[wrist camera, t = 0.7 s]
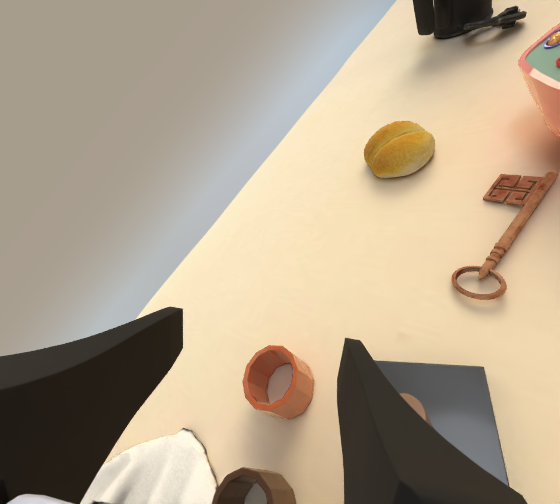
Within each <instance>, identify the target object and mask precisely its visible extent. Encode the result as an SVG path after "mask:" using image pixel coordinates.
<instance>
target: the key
mask: <svg viewBox="0 0 560 504" xmlns="http://www.w3.org/2000/svg"><path fill="white" fill-rule="evenodd" d="M557 176H558V174H557V173H556V172H548V173H547V174H546V175H545V176H544V177H532V176H523V178H522V179H521V181H520V182H519V183H518V185H517V186H516V188H514V186H515V185H516V184H517V182H518V181H519V179H520V178H521V176H519V175H506V174H500V176H499V177H498V178H497V180H496V181H495V182H494V184H493V185H492V186H491V188H490V189H489V190H488V192H487V193H486V194H485V196H484V197H483V199H484V200H491V201H498V202H503V201H504V200H505V199H506V197H507V196H508V194H509V193H510V191H512V193H511V194H510V196H509V197H508V198H507V200H506V203H512V204H519V205H524V206H523V208H522V209H521V210H520V212H519V213H518V215H517V216H516V218H515V219H514V220H513V222H512V223H511V225H510V226H509V227H508V229H507V230H506V232H505V233H504V235H503V236H502V237H501V239H500V240H499V242H498V243H496V244H495V246H494V249H493V250H492V251H491V253H490V256H488V257H487V258H486V261H485V263H484V264H483V266H482V267H480V266H467V267H463V268H460V269H458V270H457V271H455V272H454V273H453V275H452V284H453V286H454V287H455V288H456V289H457V290H458V291H459V292H460V293H462V294H464V295H466V296H468V297H471V298H474V299H480V300H490V299H495V298H497V297H499V296H501V295H503V294H504V292H505V291H506V288H507V285H506V282H505V280H504V279H503V277H502V276H501V275H499V274H498V273H497V272H495V271H493V270H492V269H493V267H494V266H495V265H496V264H497V263H498V262H499V259H500V258H502V256H503V255H504V253H505V252H506V251H507V250H508V249H509V246H510V244H511V243H512V241H513V240H514V238H515V237H516V236H517V234H518V233H519V231H520V230H521V228H522V227H523V225H524V224H525V223H526V221H527V220H528V218H529V217H530V215H531V214H532V212H533V211H534V210H535V208H536V207H537V205H538V204H539V202H540V201H541V199H542V198H543V197H544V195H545V194H546V192H547V191H548V189H549V188H550V186H551V185H552V184H553V182H554V181H555V179H556V178H557ZM501 180H502V181H501ZM500 181H501V183H500V184H499V187H498V186H497V185H498V183H499V182H500ZM533 182H534V183H536V184H535V186H534V187H533V189H532V190H529V189H530V188H531V187H532V185H533ZM494 189H495V191H494V192H493V193H492V191H493V190H494ZM491 193H492V196H489V195H490V194H491ZM526 193H529V194H528V195H527V197H526V198H525V199H524V201H522V199H523V198H524V196H525V195H526ZM469 271H479V277H478V278H479V279H482V278H483V277H485V276H487V275H488V274H490V275H491V276H493V277H495V278H496V279H497V280H498V281H499V282H500V284H501V287H500V288H499V289H498V290H497V291H496V292H494V293H491V294H475V293H471V292H469V291H466V290H464V289H463V288H461V287H460V286H459V285H458V284H457V282H456V280H457V278H458V276H459V275H461V274H462V273H465V272H469Z"/></svg>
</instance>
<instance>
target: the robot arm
mask: <svg viewBox="0 0 560 504" xmlns="http://www.w3.org/2000/svg"><path fill="white" fill-rule="evenodd" d="M182 349H183V309H181V308H175V307H167V308H164V309H161V310H159V311H156V312H154V313H151V314H149V315H146V316H144V317H141V318H139V319H136V320H134V321H131V322H129V323H126V324H124V325H121V326H118V327H116V328H113V329H110V330H108V331H105V332H102V333H99V334H96V335H93V336H90V337H87V338H84V339H80V340H77V341H73V342H69V343H66V344H62V345H57V346H53V347H49V348H44V349H40V350H36V351H31V352H25V353H19V354H14V355H7V356H1V357H0V504H80V503H81V501H82V499H83V498H84V496H85V494H86V492H87V491H88V489H89V487H90V485H91V484H92V482H93V480H94V478H95V477H96V475H97V473H98V472H99V470H100V468H101V467H102V465H103V463H104V462H105V460H106V458H107V457H108V455H109V454H110V452H111V450H112V449H113V447H114V445H115V444H116V442H117V441H118V439H119V438H120V436H121V434H122V433H123V431H124V430H125V428H126V427H127V425H128V424H129V422H130V421H131V419H132V418H133V417H134V415H135V414H136V412H137V411H138V410H139V409H140V407H141V406H142V405H143V403H144V402H145V401H146V400H147V398H148V397H149V396H150V395H151V393H152V392H153V391H154V389H155V388H156V387H157V386H158V384H159V383H160V382H161V380H162V379H163V378H164V377H165V375H166V374H167V373H168V371H169V370H170V369H171V367H172V366H173V364H174V362H175V361H176V359H177V357H178V356H179V354H180V352H181V350H182ZM337 406H338V416H339V425H340V435H341V444H342V454H343V466H344V504H527V502H526V501H525V499H524V498H523V496H522V495H520V494H519V493H518V492H516V491H515V490H513V489H512V488H510V487H509V486H507V485H506V484H505V483H503V482H502V481H500V480H499V479H497V478H496V477H495V476H493V475H492V474H490V473H489V472H487V471H486V470H484V469H483V468H482V467H480V466H479V465H478V464H476V463H475V462H474V461H472V460H471V459H470V458H469V457H467V456H466V455H465V454H463V453H462V452H461V451H460V450H458V449H457V448H456V447H455V446H453V445H452V444H451V443H450V442H449V441H447V440H446V439H445V438H444V437H443V436H442V435H440V434H439V433H438V432H437V431H436V430H435V429H434V428H433V427H432V426H430V425H429V424H428V423H427V422H426V421H425V420H424V419H423V418H422V417H421V416H420V415H419V414H418V413H417V412H416V411H415V410H414V409H413V408H412V407H411V406H410V405H409V404H408V403H407V402H406V401H405V400H404V398H403V397H402V396H401V395H400V394H399V393H398V392H397V390H396V389H395V388H394V387H393V386H392V384H391V383H390V382H389V381H388V379H387V378H386V377H385V375H384V374H383V373H382V371H381V370H380V369H379V367H378V366H377V364H376V363H375V362H374V360H373V359H372V357H371V356H370V354H369V353H368V351H367V350H366V348H365V347H364V345H363V344H362V342H361V341H360V340H355V339H349V338H345V342H344V347H343V352H342V357H341V363H340V368H339V373H338V378H337Z"/></svg>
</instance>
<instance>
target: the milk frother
mask: <svg viewBox="0 0 560 504" xmlns="http://www.w3.org/2000/svg"><path fill="white" fill-rule="evenodd" d="M413 5H414V12H415V17H416V23H417V29H418V33H419V35H430V34H432V33H433V32H434V36H436V37H438V38H439V37H441V38H445V37H451V36H455V35H458V34H462V33H464V32H467V31H469V30H472V29H478V28H482V27H487V26H492V27H495V26H496V27H499V28H501V27H502V29H506V28H510V27H513V26H514V25H515V22H516V20H519V19H523V18H525V16H526V12H525V11H522V12H520V9H519V10H518V6H514V7H510V8H507V9H506V10H505V11H504V12H502V13H500V14H499V15H498V16H496V17H493V18H489V17H490V16H491V15H492V13H493V9H492V0H434V6H433V0H413ZM488 18H489V19H488Z"/></svg>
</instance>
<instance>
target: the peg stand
mask: <svg viewBox="0 0 560 504" xmlns="http://www.w3.org/2000/svg"><path fill="white" fill-rule="evenodd" d="M374 362H375V363H376V364H377V366H378V367H379V369H380V370H381V371H382V373H383V374H384V375H385V377H386V378H387V379H388V381H389V382H390V383H391V384H392V386H393V387H394V388H395V389H396V390H397V392H398V393H399V394H400V395H401V396H402V397H403V398H404V400H405V401H406V402H407V403H408V404H409V405H410V406H411V407H412V408H413V409H414V410H415V411H416V412H417V413H418V414H419V415H420V416H421V417H422V418H423V419H424V420H425V421H426V422H427V423H428V424H429V425H430V426H432V427H433V428H434V429H435V430H436V431H437V432H438V433H439V434H440V435H442V436H443V437H444V438H445V439H446V440H447V441H449V442H450V443H451V444H452V445H453V446H455V447H456V448H457V449H458V450H460V451H461V452H462V453H463V454H465V455H466V456H467V457H469V458H470V459H471V460H472V461H474V462H475V463H476V464H478V465H479V466H480V467H482V468H483V469H484V470H486V471H487V472H489V473H490V474H492V475H493V476H495V477H496V478H497V479H499V480H500V481H502V482H503V483H505V484H506V485H507V486H509V482H508V478H507V473H506V468H505V464H504V459H503V454H502V450H501V445H500V440H499V436H498V431H497V426H496V422H495V417H494V412H493V408H492V403H491V398H490V394H489V389H488V384H487V380H486V375H485V370H484V367H480V366H462V365H444V364H426V363H408V362H390V361H374Z"/></svg>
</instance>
